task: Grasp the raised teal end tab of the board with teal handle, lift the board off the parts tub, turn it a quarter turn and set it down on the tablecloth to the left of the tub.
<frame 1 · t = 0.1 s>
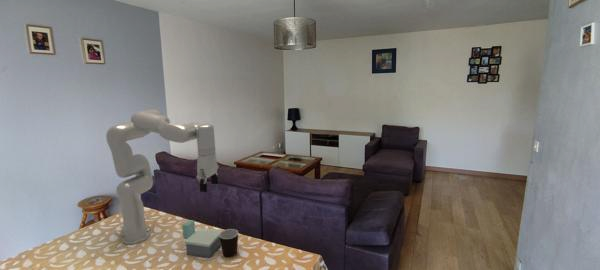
hand: (209, 187, 127), 31 cm above the table, fingers open, 9 cm apart
coffee mug: (231, 251, 131), on the table
board with teal handle: (204, 238, 131), point 6 cm above the table, touching tub
tub: (205, 249, 133), on the table
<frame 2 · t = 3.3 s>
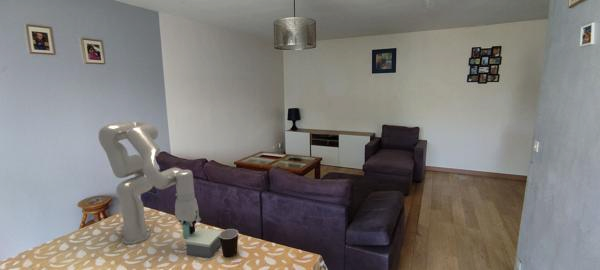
hand: (189, 232, 133), 8 cm above the table, fingers closed on board with teal handle, 3 cm apart
board with teal handle: (204, 238, 131), point 6 cm above the table, touching gripper, tub
everything else where it was.
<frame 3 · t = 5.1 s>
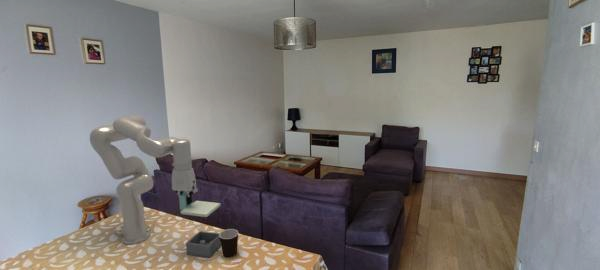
hand: (185, 203, 130), 23 cm above the table, fingers closed on board with teal handle, 3 cm apart
board with teal handle: (201, 209, 129), point 21 cm above the table, touching gripper
everything else where it was.
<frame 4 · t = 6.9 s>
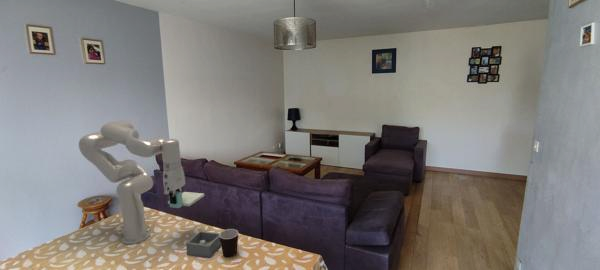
hand: (176, 201, 133), 22 cm above the table, fingers closed on board with teal handle, 3 cm apart
board with teal handle: (186, 199, 142), point 20 cm above the table, touching gripper
everything else where it was.
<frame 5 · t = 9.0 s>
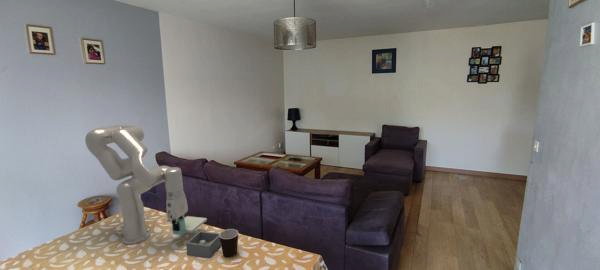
hand: (179, 228, 136), 9 cm above the table, fingers closed on board with teal handle, 3 cm apart
board with teal handle: (189, 225, 144), point 6 cm above the table, touching gripper
everything else where it was.
when the fingers open (4 cm above the table, at t = 10.7 s): board with teal handle drops 2 cm, on the table.
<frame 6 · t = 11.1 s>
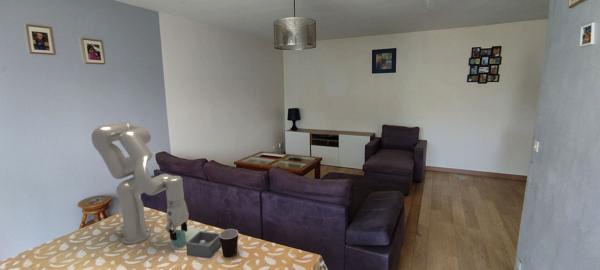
hand: (179, 235, 137), 5 cm above the table, fingers open, 7 cm apart
board with teal handle: (189, 236, 145), on the table
everything else where it was.
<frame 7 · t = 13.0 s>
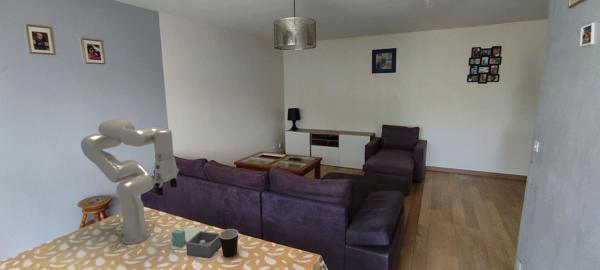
hand: (167, 190, 131), 29 cm above the table, fingers open, 9 cm apart
nothing on the table moved.
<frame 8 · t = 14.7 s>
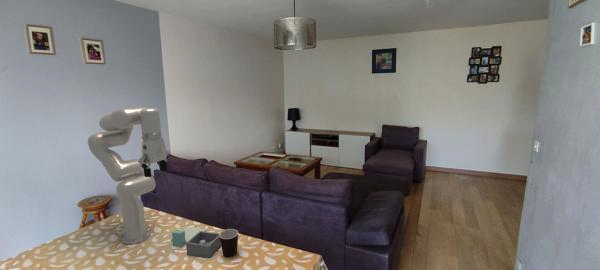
hand: (156, 173, 126), 38 cm above the table, fingers open, 9 cm apart
nothing on the table moved.
at the end: board with teal handle inside the target area (2.0 cm from its centre), on the table; board with teal handle touching table; board with teal handle tilted 0° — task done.
